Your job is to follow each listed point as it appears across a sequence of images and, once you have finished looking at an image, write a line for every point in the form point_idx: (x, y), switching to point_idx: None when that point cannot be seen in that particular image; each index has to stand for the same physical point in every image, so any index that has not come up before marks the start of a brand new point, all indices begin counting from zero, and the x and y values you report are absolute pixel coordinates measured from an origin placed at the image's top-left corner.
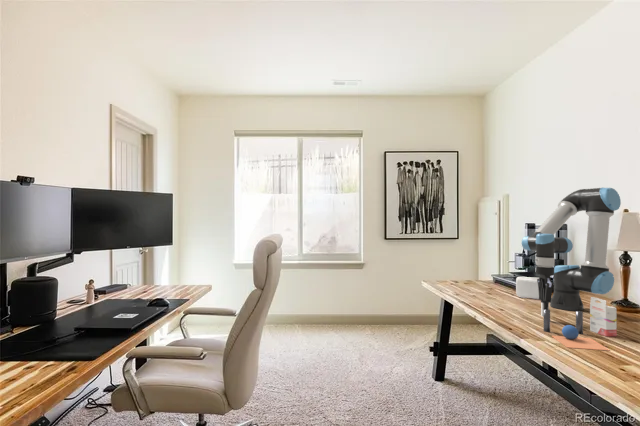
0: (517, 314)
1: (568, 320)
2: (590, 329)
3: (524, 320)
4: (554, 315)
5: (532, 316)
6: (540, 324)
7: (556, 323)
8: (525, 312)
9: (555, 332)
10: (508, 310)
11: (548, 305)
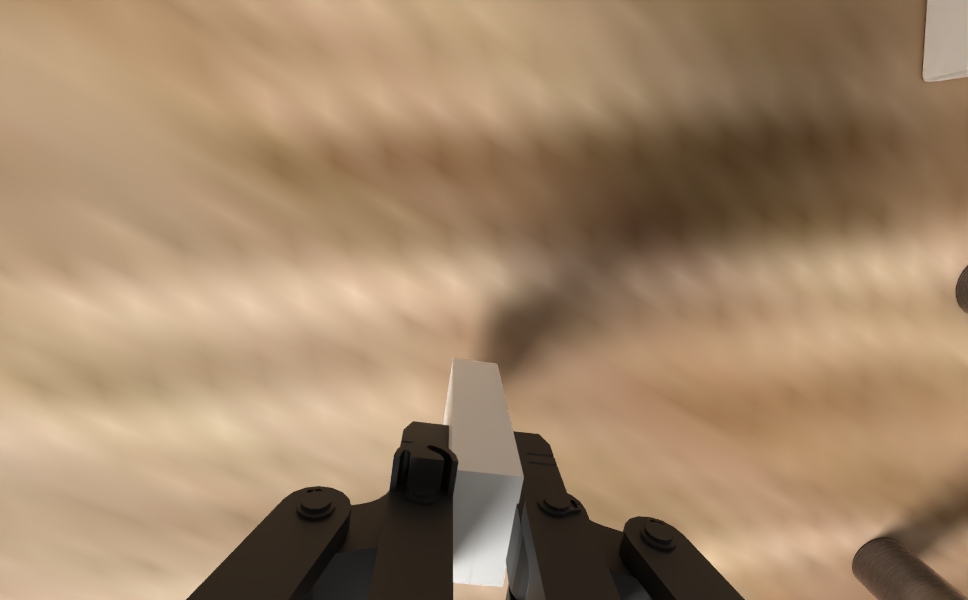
0: (215, 565)
1: (443, 46)
2: (944, 78)
3: (494, 597)
4: (158, 86)
5: (288, 435)
6: (648, 509)
7: (605, 312)
8: (67, 427)
9: (922, 504)
10: (7, 590)
11: (514, 449)
